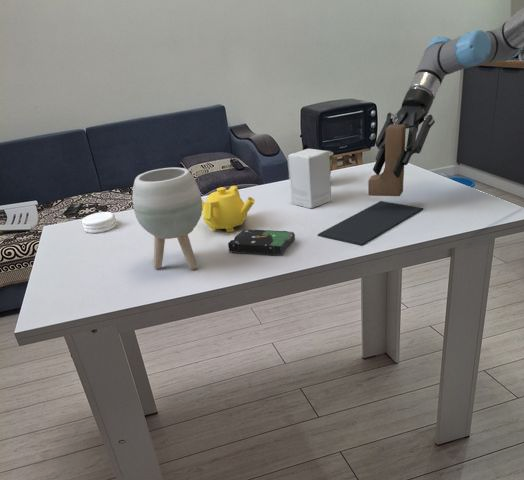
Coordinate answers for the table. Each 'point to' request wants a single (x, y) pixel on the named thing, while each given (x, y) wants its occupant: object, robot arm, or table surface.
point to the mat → (370, 222)
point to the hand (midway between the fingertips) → (385, 173)
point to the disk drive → (262, 242)
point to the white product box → (310, 177)
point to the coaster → (99, 222)
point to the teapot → (225, 209)
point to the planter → (168, 209)
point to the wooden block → (390, 164)
